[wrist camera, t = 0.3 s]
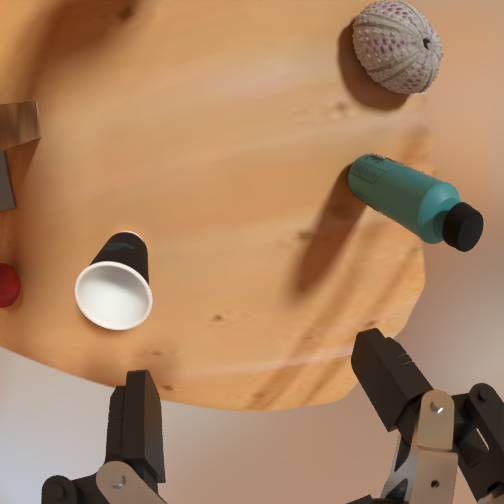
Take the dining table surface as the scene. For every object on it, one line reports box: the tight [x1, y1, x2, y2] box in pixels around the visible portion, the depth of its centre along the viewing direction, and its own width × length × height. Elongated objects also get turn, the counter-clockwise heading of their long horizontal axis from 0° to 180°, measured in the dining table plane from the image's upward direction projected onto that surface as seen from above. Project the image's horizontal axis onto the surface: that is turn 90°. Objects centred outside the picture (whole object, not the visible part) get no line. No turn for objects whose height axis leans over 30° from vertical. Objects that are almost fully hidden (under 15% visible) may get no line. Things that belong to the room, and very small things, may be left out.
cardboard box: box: [0, 102, 41, 152], centre depth 22 cm, size 4×4×11 cm
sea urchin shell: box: [352, 0, 443, 94], centre depth 28 cm, size 13×14×8 cm
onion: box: [0, 263, 20, 308], centre depth 31 cm, size 6×6×8 cm
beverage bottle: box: [348, 154, 483, 252], centre depth 30 cm, size 6×7×20 cm
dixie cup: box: [75, 231, 153, 330], centre depth 32 cm, size 8×8×11 cm
